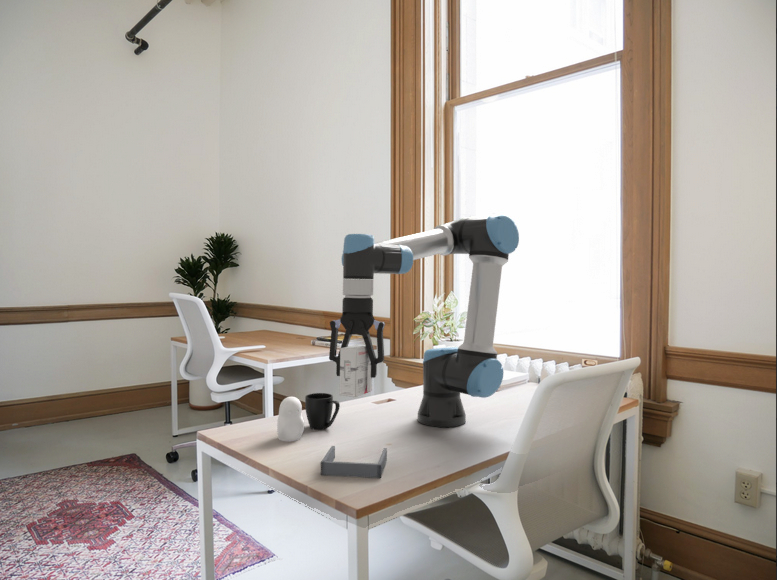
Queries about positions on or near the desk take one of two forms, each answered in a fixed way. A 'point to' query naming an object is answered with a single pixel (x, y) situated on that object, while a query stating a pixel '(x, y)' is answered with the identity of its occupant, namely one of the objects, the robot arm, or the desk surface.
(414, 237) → the robot arm
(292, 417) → the figurine
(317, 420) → the mug
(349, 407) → the desk surface
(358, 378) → the ink box
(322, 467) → the grey u-shaped frame
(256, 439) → the desk surface
